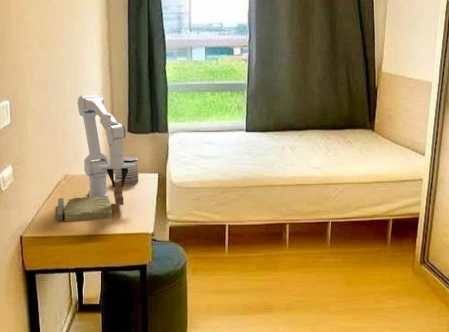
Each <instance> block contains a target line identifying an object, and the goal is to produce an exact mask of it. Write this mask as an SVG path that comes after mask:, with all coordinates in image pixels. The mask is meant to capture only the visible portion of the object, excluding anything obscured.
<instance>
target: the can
mask: <svg viewBox="0 0 449 332" xmlns="http://www.w3.org/2000/svg"><path fill="white" fill-rule="evenodd" d="M124 163H129V164H135V168H136V169H128V173H127V175H126V178H125V181H124V186H129V185H130V186H131V185H135V184H138V183H139V158H138V157H133V156H124ZM114 180H122V173H121V169H120V170H114Z"/></svg>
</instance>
